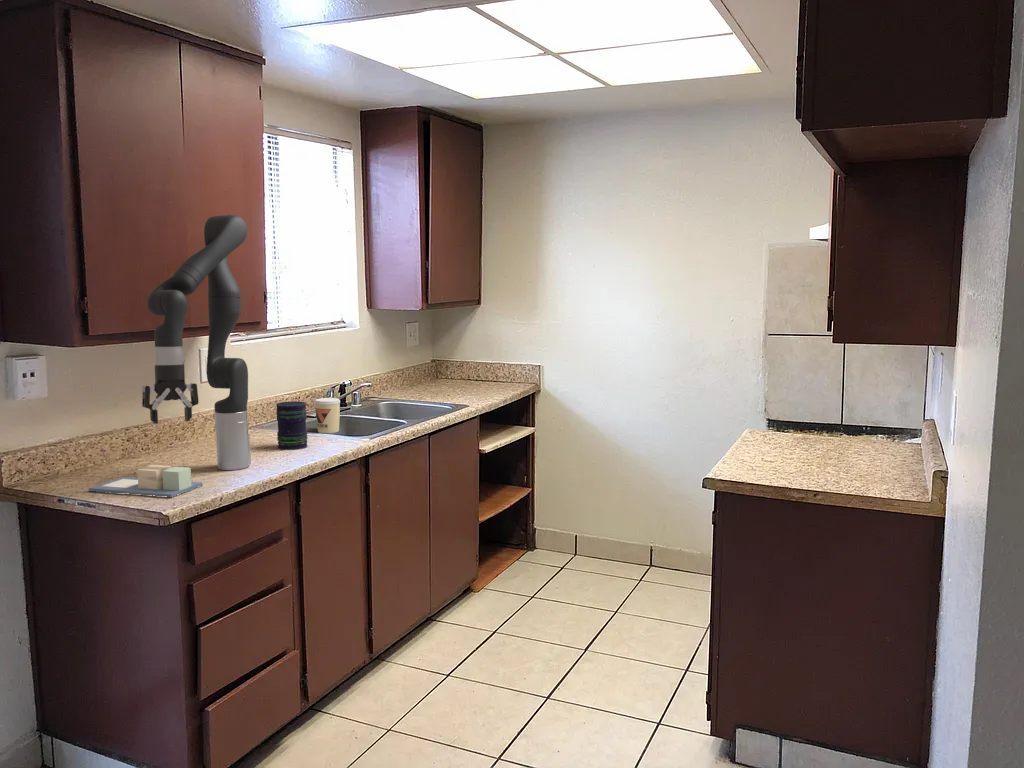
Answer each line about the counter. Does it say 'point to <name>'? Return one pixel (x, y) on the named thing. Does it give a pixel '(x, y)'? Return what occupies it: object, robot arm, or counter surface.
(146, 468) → the maple block
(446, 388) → the counter surface
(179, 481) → the sage block
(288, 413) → the storage jar
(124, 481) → the board
